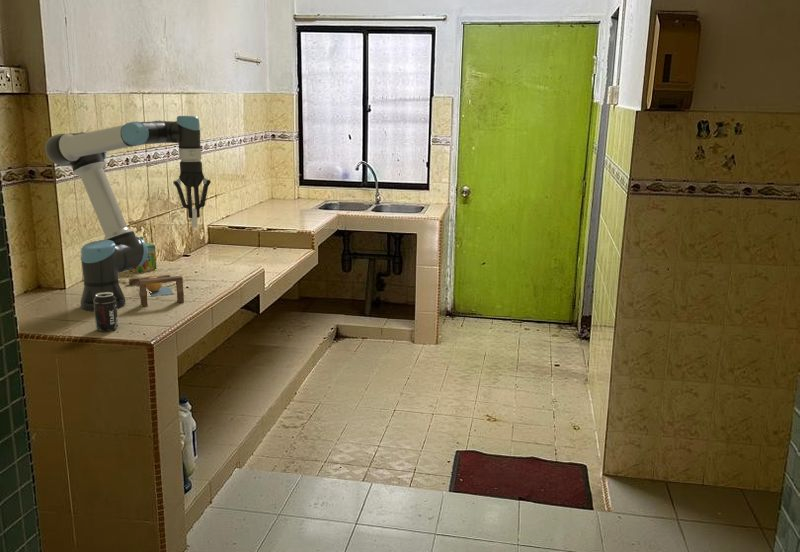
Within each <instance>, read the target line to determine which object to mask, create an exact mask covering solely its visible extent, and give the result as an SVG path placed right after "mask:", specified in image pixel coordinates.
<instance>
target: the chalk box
mask: <svg viewBox="0 0 800 552" xmlns="http://www.w3.org/2000/svg"><path fill="white" fill-rule="evenodd" d="M138 237H139V238H141V239H142V240H144V237H143V236H138ZM144 241H145V240H144ZM145 243H146V242H145ZM146 245H147V249H148V255H147V258H146V261H145V262H144V264H143V265H141V266H139V267H137V268H135V269H132V270H130V271H129V272H133V271H135V272H134V273H138V272H139V273H140V274H141V272H143V273H147V272H151V271H150V270H153V271H156V270H155V269H157V254H156V245H155V244H151V243H146ZM146 271H147V272H146Z"/></svg>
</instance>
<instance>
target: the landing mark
mask: <svg viewBox="0 0 800 552" xmlns="http://www.w3.org/2000/svg"><path fill="white" fill-rule="evenodd" d="M137 291H139V292H138V293H139V294H140V288H139V289H137ZM149 293H150V292H149ZM168 294H171V295H174V294H175V293H174V292H173V290H172V289H171V287H170V286H164V287H163V286H161V288H160V289H159V290H158V291H156V292H152V293H150V295H151V297H158V296H157V295H161V296H169V295H168Z"/></svg>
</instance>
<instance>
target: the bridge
mask: <svg viewBox="0 0 800 552" xmlns="http://www.w3.org/2000/svg"><path fill="white" fill-rule="evenodd" d="M183 280H184V279H183V276H182V275H173V276H172V275H170V277H160V278H150V279H139V285H138V287H139V289H140V293H139V299H140V306H141V305H142V306H147V307H148V297H147V291H146V289H147V288H146V284H151V283H162V284H163V283H168V282H169V283H170V282H175V285H176V286H175V287H176V289H175V290H176V301H177V303H178V304H180V303H179V302H183V303H185V296H184V281H183ZM142 306H141V307H142Z"/></svg>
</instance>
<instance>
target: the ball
mask: <svg viewBox="0 0 800 552" xmlns="http://www.w3.org/2000/svg"><path fill="white" fill-rule="evenodd" d="M149 277H150V276H149ZM150 278H157V277H150ZM150 278H148V279H150ZM161 287H163V282H162V283H151V284H146V289H148V290H149V291H151V292H156V291H158V290H159V289H160V288H161Z"/></svg>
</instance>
